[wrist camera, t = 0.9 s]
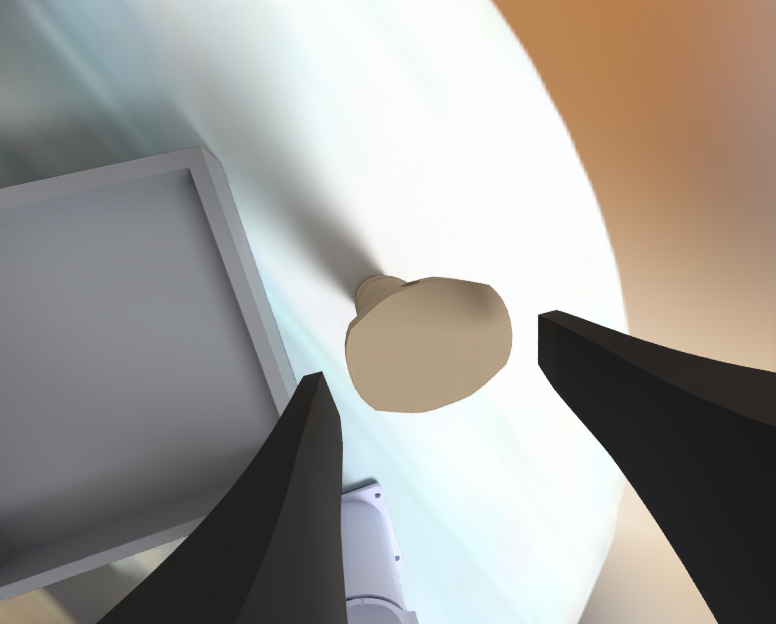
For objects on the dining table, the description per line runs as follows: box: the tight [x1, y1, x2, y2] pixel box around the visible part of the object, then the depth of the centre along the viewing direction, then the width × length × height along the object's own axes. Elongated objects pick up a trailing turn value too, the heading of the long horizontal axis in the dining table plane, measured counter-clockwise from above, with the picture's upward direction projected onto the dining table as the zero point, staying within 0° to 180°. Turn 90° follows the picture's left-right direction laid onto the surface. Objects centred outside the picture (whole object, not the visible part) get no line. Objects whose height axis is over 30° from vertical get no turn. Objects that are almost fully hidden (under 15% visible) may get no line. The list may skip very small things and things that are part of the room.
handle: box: [345, 275, 512, 413], centre depth 20 cm, size 5×6×15 cm
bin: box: [0, 146, 298, 602], centre depth 23 cm, size 24×24×4 cm
